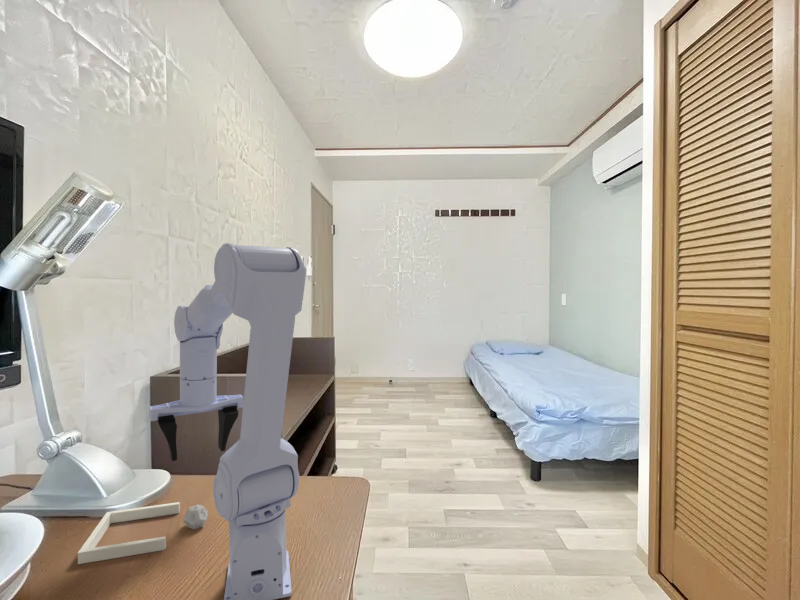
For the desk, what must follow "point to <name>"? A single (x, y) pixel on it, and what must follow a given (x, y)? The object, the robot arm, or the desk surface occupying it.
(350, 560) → the desk surface
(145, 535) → the desk surface
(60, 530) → the desk surface
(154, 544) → the bay
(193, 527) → the game die
